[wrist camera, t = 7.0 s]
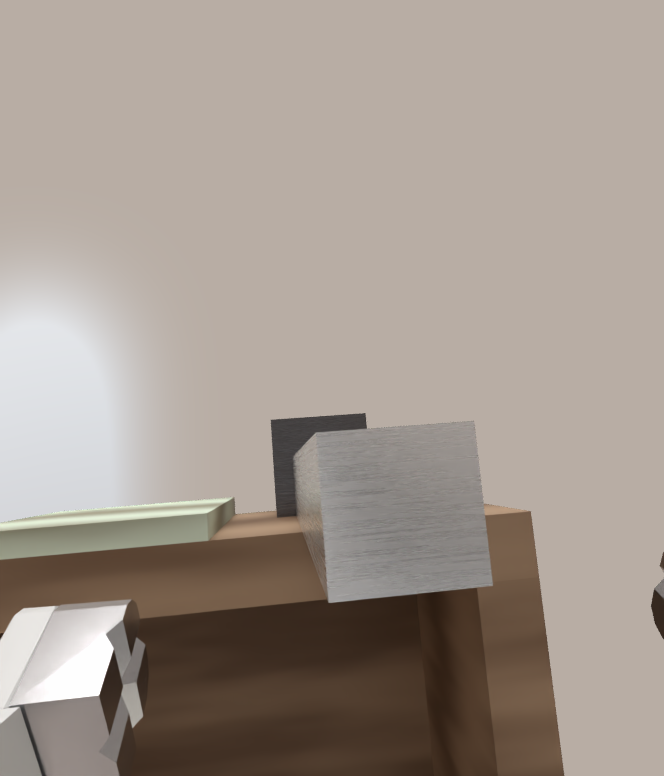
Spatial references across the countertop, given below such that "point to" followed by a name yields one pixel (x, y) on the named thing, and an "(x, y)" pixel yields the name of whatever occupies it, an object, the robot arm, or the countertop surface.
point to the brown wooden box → (301, 646)
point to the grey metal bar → (384, 504)
